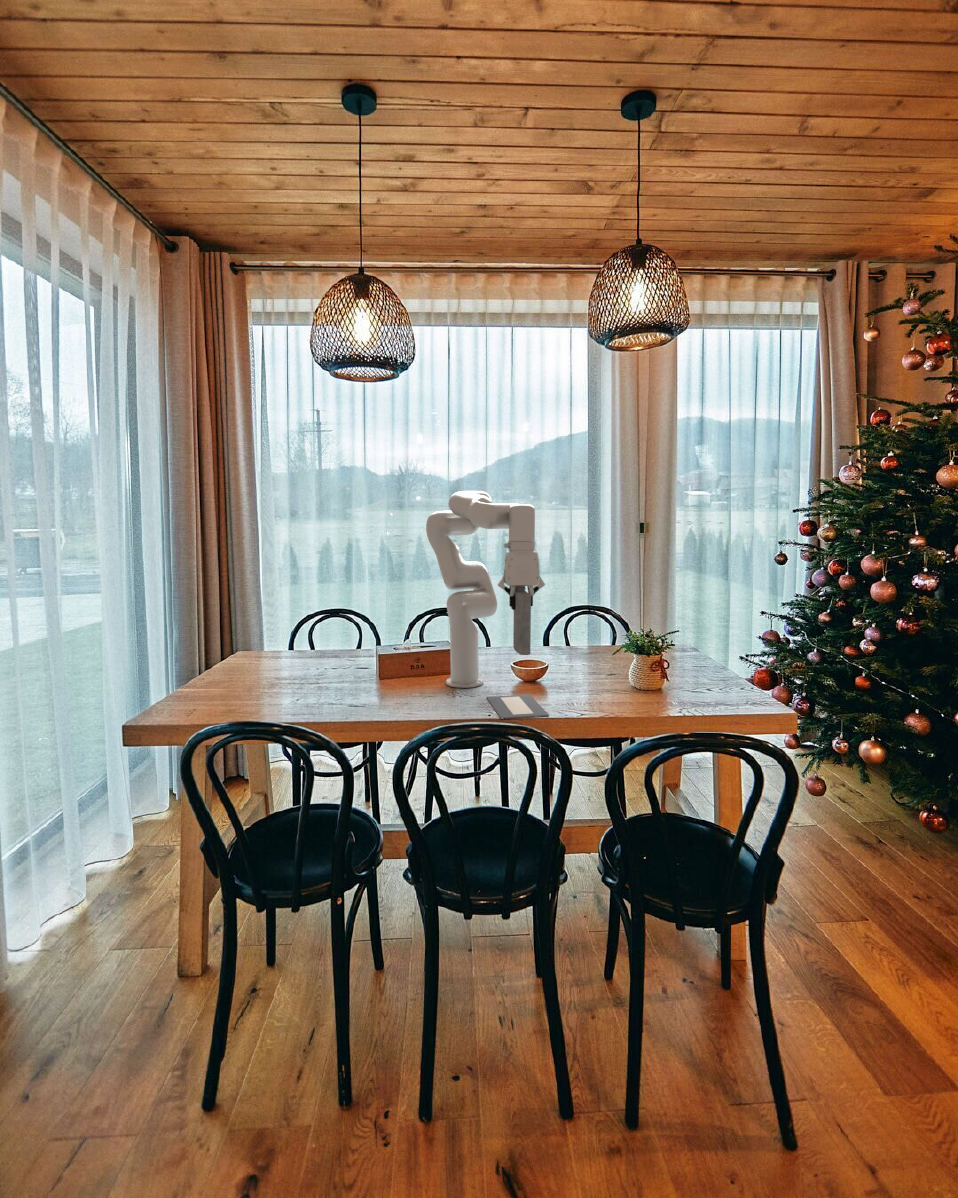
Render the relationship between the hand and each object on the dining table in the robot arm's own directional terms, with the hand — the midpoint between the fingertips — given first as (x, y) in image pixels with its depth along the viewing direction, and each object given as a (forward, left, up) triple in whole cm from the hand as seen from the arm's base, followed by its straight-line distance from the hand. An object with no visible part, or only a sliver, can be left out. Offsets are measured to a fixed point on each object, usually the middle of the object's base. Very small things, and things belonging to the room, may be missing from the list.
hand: (521, 608), depth 204 cm
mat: (0, -1, -30) cm, 30 cm away
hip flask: (0, 0, -12) cm, 13 cm away
